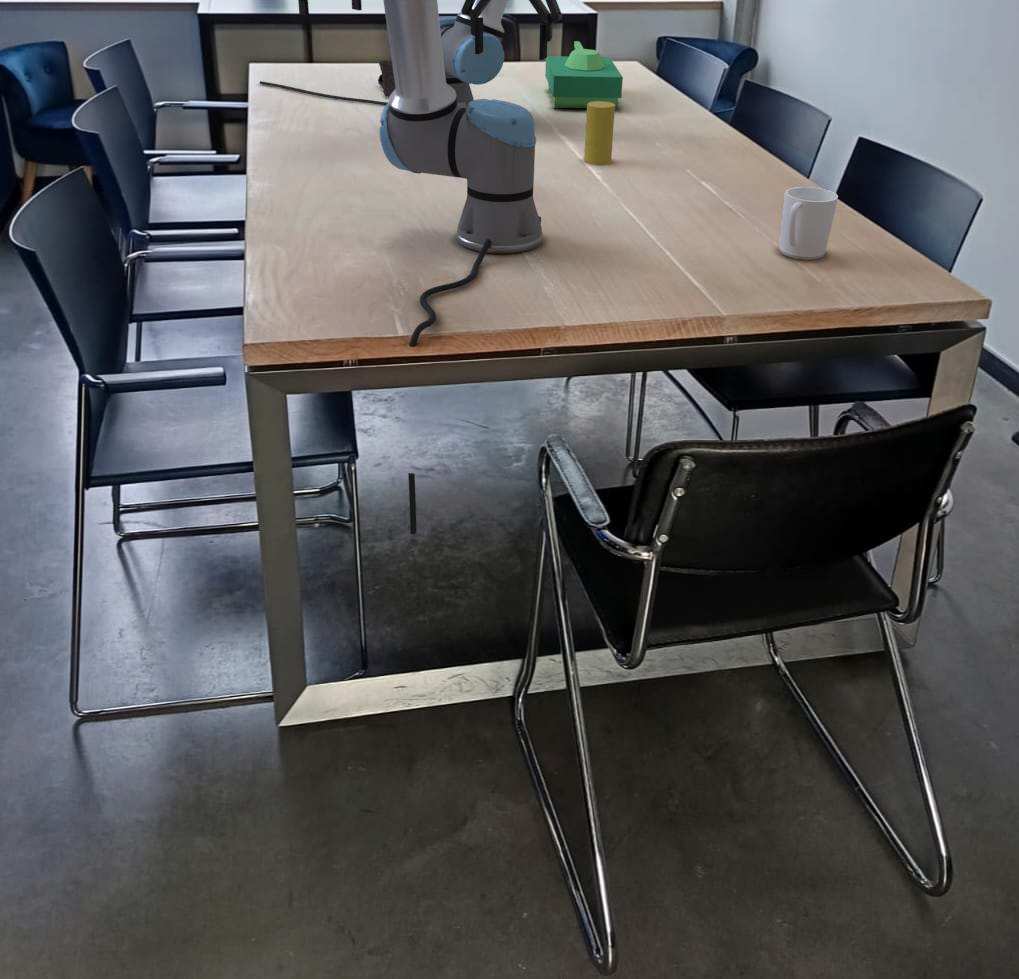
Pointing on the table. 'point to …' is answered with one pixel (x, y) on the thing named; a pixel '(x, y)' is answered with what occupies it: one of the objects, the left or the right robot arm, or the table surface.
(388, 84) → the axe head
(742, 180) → the table surface
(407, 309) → the table surface
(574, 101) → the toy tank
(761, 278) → the table surface
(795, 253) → the mug
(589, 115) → the canister
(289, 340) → the table surface
